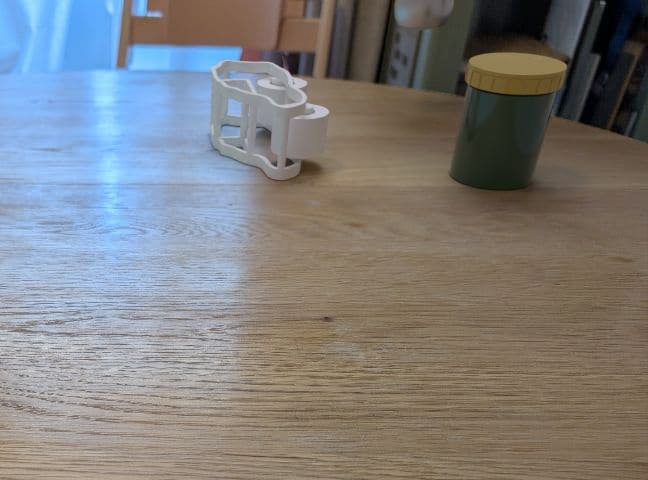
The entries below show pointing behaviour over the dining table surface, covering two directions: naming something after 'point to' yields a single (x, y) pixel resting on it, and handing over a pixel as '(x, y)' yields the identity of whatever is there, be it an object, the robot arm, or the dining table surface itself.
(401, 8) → the plastic bottle
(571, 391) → the dining table surface
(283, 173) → the car outline toy
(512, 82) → the lid
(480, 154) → the green jar
